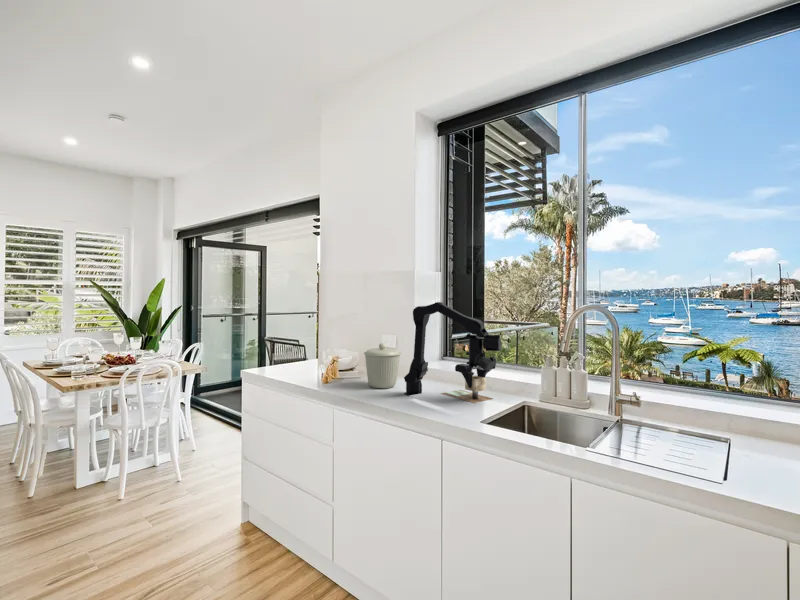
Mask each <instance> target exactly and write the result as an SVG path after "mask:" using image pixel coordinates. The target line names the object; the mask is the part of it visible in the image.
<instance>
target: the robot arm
mask: <svg viewBox="0 0 800 600" xmlns="http://www.w3.org/2000/svg"><path fill="white" fill-rule="evenodd" d="M435 313H439V314H442V315H443V316H445V317H447V318H449V319H450V320H452V321H454V322H456V323H458V324H459V325H460V326H462V327H463V329H464V330H466V331H467V332H468V333H467V334H466V335H465V336H464V337H463V338H464V340H468V351H466V355H467V356H468V361H466V363H458V364H456V365H455V366H454V370H455V371H454V372H457V373H460V374H462V376H463V378H464V381H465V380H466V383H467V385H468V387H469V388H471V387H472V376H474V375H475V372H473V370H476V376H479V377H483V378H486V375H487V374H488V373H489V372H491V371H492V370H495V369H496V366H497V358H496V357H495V356H490V357H487V356H486V353H485V352H484V350H485V351H486V352H487V351H488V352H501V351H502V344H503V342H502V339H501V334H490V333H489V332H488V331H487V330H486V327H485V324H484V321H482V320H481V319H478V318H474V317H471V316H468V315H465V314H463V313H461V312H459V311H457V310H455V309H453V308H452V307H450V306H448V305H446V304H445V303H443V302H441V301H436V302H435V303H432V304H429V305H420V306H419V305H418V306H415V307H414V308H413V309H412V319H413V320H412V321H413V322H414V325H415V330H414V346H413V358H412V360H411V363H410V366H409V370H408V371H409V372H408V373H407V374H405V376H404V377H403V380H404V382H405V392H403V394H404V395H406V396H414V395H421V394H422V393H423V392H422V391H423V384H422V380H423V377H424V376H425V375H427V372H429V369H428V365H429V362H428V361H426V360H425V348H426V347H425V345H426V332H427V330H426V329H427V325H428V323H429V322H430V321H429V320H430V316H431V315H433V314H435ZM483 349H484V350H483Z"/></svg>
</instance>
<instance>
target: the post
mask: <svg viewBox="0 0 800 600" xmlns="http://www.w3.org/2000/svg"><path fill="white" fill-rule="evenodd" d="M471 393H472V399H478V395H479V391H478V392H474V391H471Z"/></svg>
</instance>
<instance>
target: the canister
mask: <svg viewBox="0 0 800 600" xmlns="http://www.w3.org/2000/svg"><path fill="white" fill-rule="evenodd" d="M401 354H402V352H401V351H399V350H397V349H395V348H387V345H386V343H383V342H381V343H379V344H378V348H370V349H367V350H366V351H364V352H363V355H364V356H365V357H364V358H365V366H366V367H365V368H366V376H367V382H368V385H369V386H370V387H371V388H375V389H390V388H393V387H394V386H395V385H396V384H397V380H398V373H399V365H400V355H401Z"/></svg>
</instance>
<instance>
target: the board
mask: <svg viewBox="0 0 800 600" xmlns="http://www.w3.org/2000/svg"><path fill="white" fill-rule="evenodd" d="M440 394H441V395H443V396H444V395H445V396H447V397H451V398H454V399H459V400H462V401H466V402H468V403H472V404H478V403H482V402H485V401H490V400H494V398H492V397H489V396H486V395H485V396H484V395H481V394H478V399H472V392H470V391H467V390H466V391H465V390H462V389H457V390H452V391H447V392H446V391H445V392H441V393H440Z"/></svg>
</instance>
